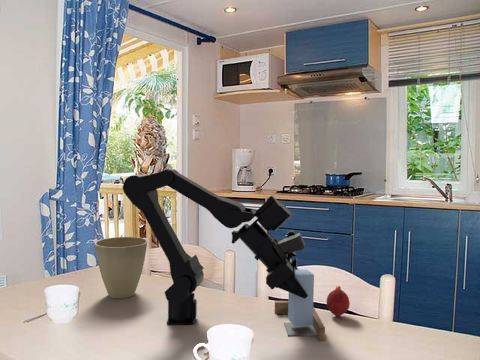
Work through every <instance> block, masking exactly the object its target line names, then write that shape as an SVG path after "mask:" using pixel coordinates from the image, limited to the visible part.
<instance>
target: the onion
mask: <svg viewBox="0 0 480 360" xmlns="http://www.w3.org/2000/svg"><path fill="white" fill-rule="evenodd" d="M350 304H351V303H350V299H349V296H348V294H347V293H346V292H345V291H344V290H342V288H341V286H340V285H337V286H336V288H335V289H333V290H332V291H331V292H329V293H328V295H327V297H326V306H327V309H328V310H329V311H330V313H331V314H333V315H334V316H335V317H337V318H339V317H341V316H343V315H345V313H346V312H347V311H348V310H349V309H350Z"/></svg>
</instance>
